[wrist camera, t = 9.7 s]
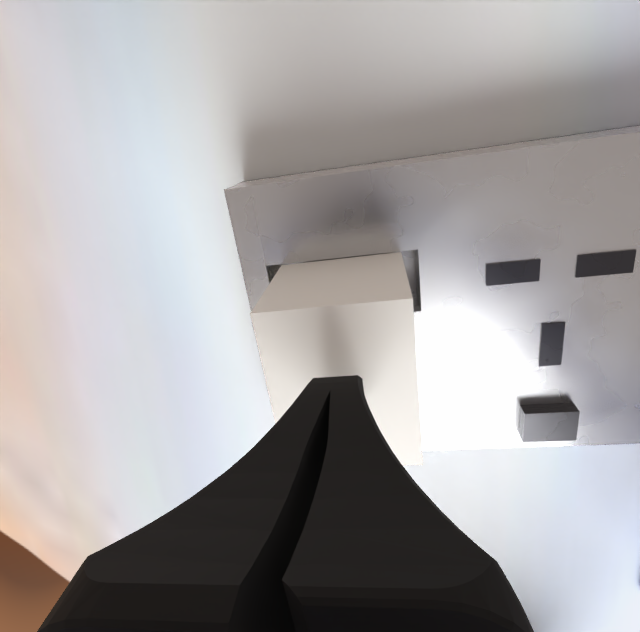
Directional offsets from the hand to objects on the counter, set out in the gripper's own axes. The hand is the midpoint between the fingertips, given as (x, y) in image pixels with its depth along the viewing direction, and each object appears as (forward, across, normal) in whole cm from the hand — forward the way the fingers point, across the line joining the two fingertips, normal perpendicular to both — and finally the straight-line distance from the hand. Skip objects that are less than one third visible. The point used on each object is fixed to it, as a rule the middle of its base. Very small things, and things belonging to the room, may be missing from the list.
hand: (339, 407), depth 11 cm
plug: (+7, 0, 0) cm, 7 cm away
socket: (+8, -4, 0) cm, 9 cm away
